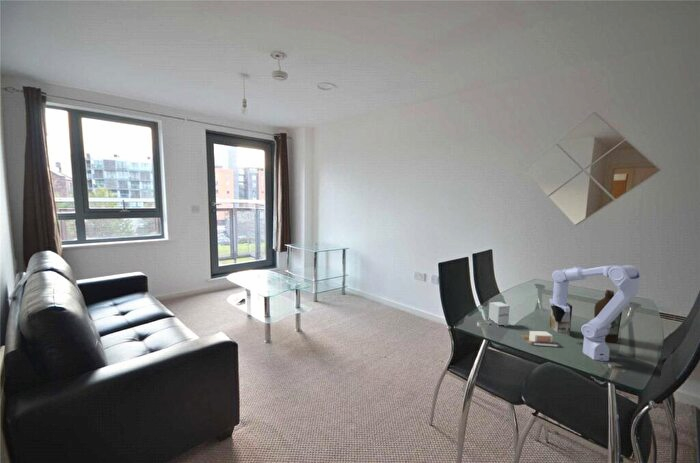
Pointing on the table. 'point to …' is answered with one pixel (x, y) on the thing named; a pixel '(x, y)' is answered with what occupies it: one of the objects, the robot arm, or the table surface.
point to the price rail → (545, 344)
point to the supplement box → (499, 313)
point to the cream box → (540, 336)
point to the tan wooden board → (529, 340)
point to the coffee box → (562, 322)
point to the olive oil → (615, 325)
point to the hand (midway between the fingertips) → (557, 321)
